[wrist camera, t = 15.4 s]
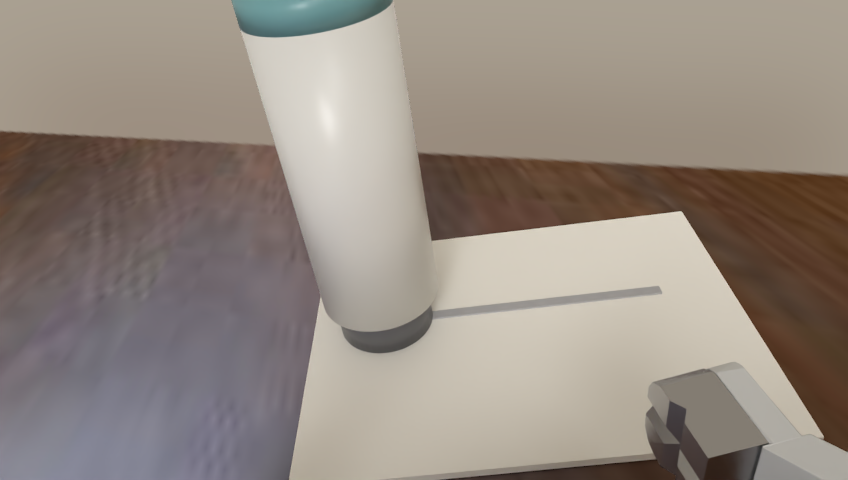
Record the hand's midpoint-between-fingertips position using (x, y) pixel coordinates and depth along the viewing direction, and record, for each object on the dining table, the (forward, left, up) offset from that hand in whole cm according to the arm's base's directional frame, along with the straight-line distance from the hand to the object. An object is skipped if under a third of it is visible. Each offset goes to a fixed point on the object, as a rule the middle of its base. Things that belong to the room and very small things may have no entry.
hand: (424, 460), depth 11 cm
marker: (-2, +12, -7) cm, 14 cm away
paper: (+3, +11, -8) cm, 14 cm away
